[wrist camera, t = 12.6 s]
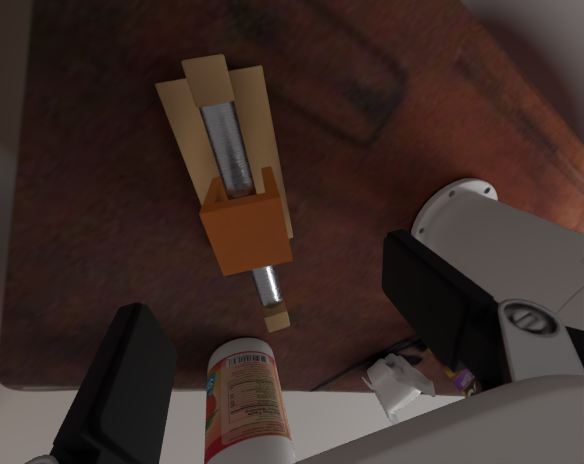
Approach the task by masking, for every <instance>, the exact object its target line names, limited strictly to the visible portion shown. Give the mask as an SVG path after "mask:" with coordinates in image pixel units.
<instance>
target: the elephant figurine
mask: <svg viewBox="0 0 584 464" xmlns="http://www.w3.org/2000/svg"><path fill="white" fill-rule="evenodd" d="M386 363H387V365H388V366H387V365H386ZM367 373H368V376H369V378H370V380H371V382H372V384H370V383H368V382H367V381H366V380H365V379H364V378H363V377H362V378H363V380H364V381H365V383H366V384H367V385H368V386H369V387H370V388H371V389H373V390H375V391H374V392H375V394H376V396H377V398H378V400H379V402H380V404H381V405H382V407H383V409H384V411H385V413H386V414H387V417H388V418H389V420H390V421H391V423H392V424H393V425H395V424H398V423H399V420H398V418H397V416H396V415H395V414H394V410H400V409H402V408H404V407H405V406H406V405H407V404H409V403H410V402H411V401H412V400H413V399H414V398H416V397H417V396H418V395H419V394H420V393H421V392H424V393H426V394H429V395H431V396H432V397H435V391H434V387H433V382H432V381H431V380H429V379H427V378H426V377H425V376H424V375H423V374H422V373H421V372H420V371H418V370H417V369H415V368H412V367H411V365H410V364H409V363H408V362H407V361H406V360H405V359H404V358H403V357H402V356H400V355H399V356H396V355H395V354H393V353H390V354H389V355H388V356H386V357H385V360H384V359H379V360H378V361H377V362H376V363H375V364H374V365H373V366H371V367H370V368H369V369H367Z"/></svg>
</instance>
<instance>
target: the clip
mask: <svg viewBox="0 0 584 464" xmlns="http://www.w3.org/2000/svg"><path fill="white" fill-rule="evenodd" d="M261 171H262V177H263V183H264V188H265V193H261V194H256V195H251V196H247V197H242V198H237V199H232V200H228V198H227V195H226V192H225V189H224V186H223V183H222V180H221V177H220V176H219V177H214V178H212V181H211V184H210V186H209V189H208V192H207V194H206V197H205V200H204V203H203V206H202V208H201V210H200V213H199V215H200V218H201V220H202V223H203V225H204V228H205V230H206V233H207V235H208V238H209V240H210V243H211V245H212V248H213V250H214V253H215V255H216V258H217V260H218V263H219V265H220V268H221V270H222V273H223V275H224V276H226V275H230V274H235V273H239V272H244V271H248V270H253V269H257V268H261V267H266V266H270V265H275V264H279V263H284V262H288V261H292V260H293V258H292V253H291V248H290V243H289V238H288V233H287V227H286V222H285V217H284V212H283V207H282V202H281V197H280V194H279V191H278V187H277V184H276V181H275V177H274V174H273V171H272V168H271V166H269V167H264V168H261Z"/></svg>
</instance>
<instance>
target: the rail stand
mask: <svg viewBox="0 0 584 464" xmlns="http://www.w3.org/2000/svg"><path fill="white" fill-rule="evenodd" d="M182 66H183V69H184V72H185V76H186V78H185V79H179V80H173V81H167V82H162V83H156V84H155V86H156V89H157V91H158V94H159V96H160V99H161V102H162V104H163V107H164V109H165V112H166V115H167V117H168V120H169V122H170V125H171V128H172V130H173V133H174V135H175V138H176V141H177V143H178V146H179V148H180V151H181V154H182V156H183V159H184V161H185V164H186V166H187V169H188V172H189V174H190V177H191V179H192V182H193V185H194V187H195V190H196V192H197V195H198V198H199V200H200V203H201V205H202V206H203V203H204V200H205V197H206V194H207V192H208V189H209V186H210V184H211V181H212V178H214V177H219V176H220V177H221V180H222V183H223V186H224V189H225V192H226V195H227V198H228V200H232V199H237V198H242V197H247V196H251V195H256V194H261V193H265V188H264V183H263V177H262V171H261V168H264V167H269V166H271V168H272V171H273V174H274V177H275V181H276V184H277V187H278V191H279V194H280V197H281V202H282V207H283V212H284V217H285V222H286V227H287V233H288V238H292V237H293V233H292V227H291V222H290V216H289V211H288V206H287V200H286V195H285V189H284V184H283V178H282V173H281V167H280V162H279V156H278V151H277V145H276V140H275V134H274V129H273V123H272V118H271V112H270V107H269V102H268V96H267V91H266V85H265V80H264V74H263V69H262V66H261V65H260V66H254V67H248V68H243V69H237V70H231V71H228V69H227V65H226V61H225V57H224V55H223V54H218V55H212V56H206V57H199V58H193V59H187V60H183V61H182ZM250 271H251V274H252V277H253V280H254V283H255V286H256V289H257V293H258V296H259V299H260V302H261V306H262V310H263V315H264V319H265V323H266V326H267V329H268V332H269V333H270V332H273V331H276V330H279V329H282V328H285V327H288V326H290V322H289V318H288V314H287V310H286V307H285V304H284V300H283V297H282V293H281V289H280V285H279V281H278V277H277V273H276V269H275V265H270V266H266V267H261V268H257V269H253V270H250Z"/></svg>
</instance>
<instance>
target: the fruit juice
mask: <svg viewBox="0 0 584 464" xmlns="http://www.w3.org/2000/svg"><path fill="white" fill-rule="evenodd" d="M205 428H206V429H205V458H204V464H293V463H296V459H295V453H294V448H293V443H292V439H291V435H290V430H289V425H288V421H287V416H286V411H285V407H284V403H283V397H282V392H281V388H280V383H279V378H278V374H277V369H276V364H275V359H274V355H273V352H272V350H271V348H270V346H269V345H268V344H267V343H266V342H264V341H262V340H260V339H256V338H240V339H236V340H232V341H230V342H227V343H225V344H223V345H222V346H220V347H219V348H218V349H217V350H216V351H215V352H214V353H213V354H212V356H211V358H210V360H209V364H208V370H207V398H206V427H205Z"/></svg>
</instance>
